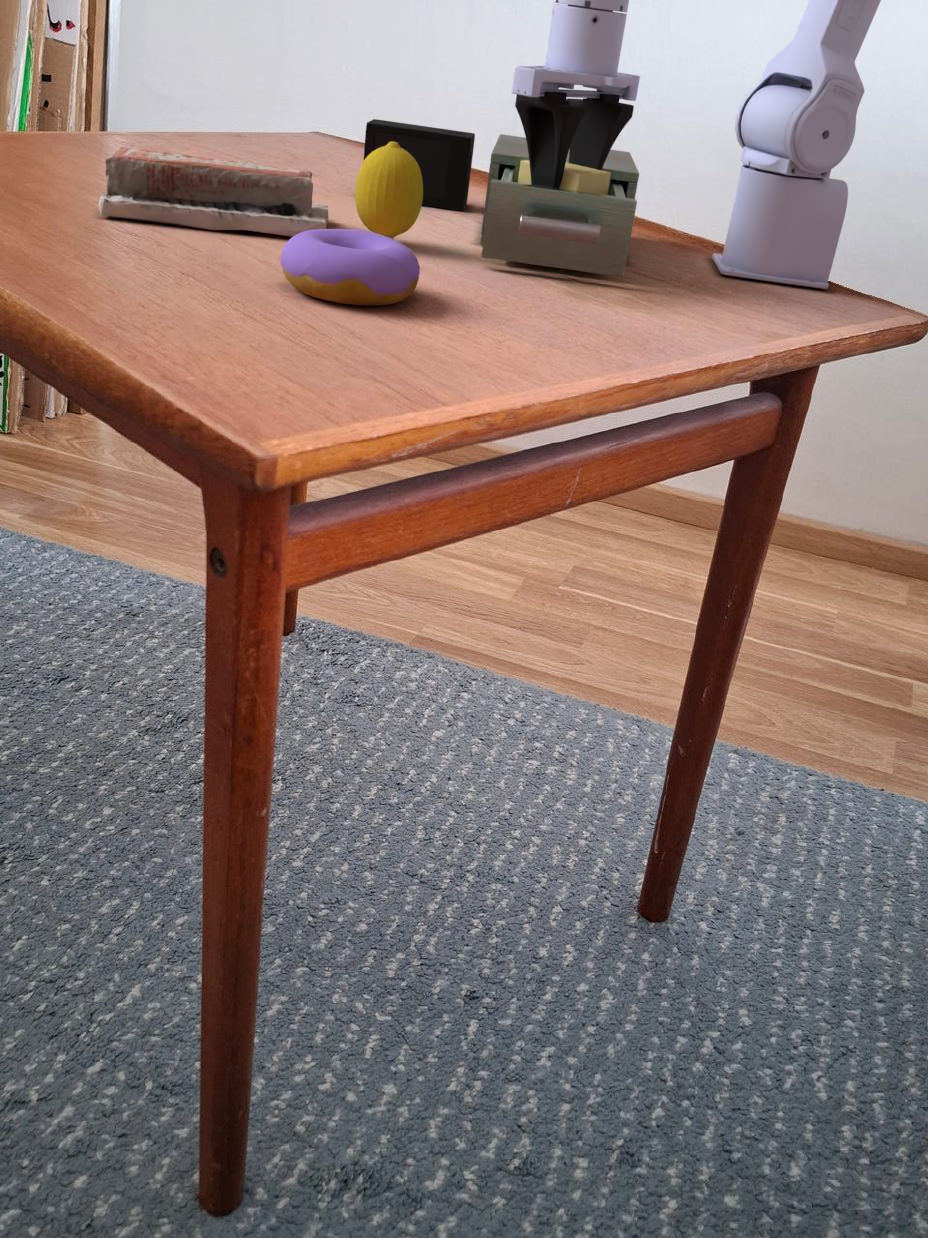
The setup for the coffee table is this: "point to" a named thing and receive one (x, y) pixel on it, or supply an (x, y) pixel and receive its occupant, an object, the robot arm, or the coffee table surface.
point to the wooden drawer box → (616, 163)
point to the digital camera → (430, 158)
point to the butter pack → (574, 178)
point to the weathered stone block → (209, 193)
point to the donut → (350, 266)
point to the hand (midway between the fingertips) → (562, 192)
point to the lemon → (389, 191)
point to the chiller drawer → (558, 226)
